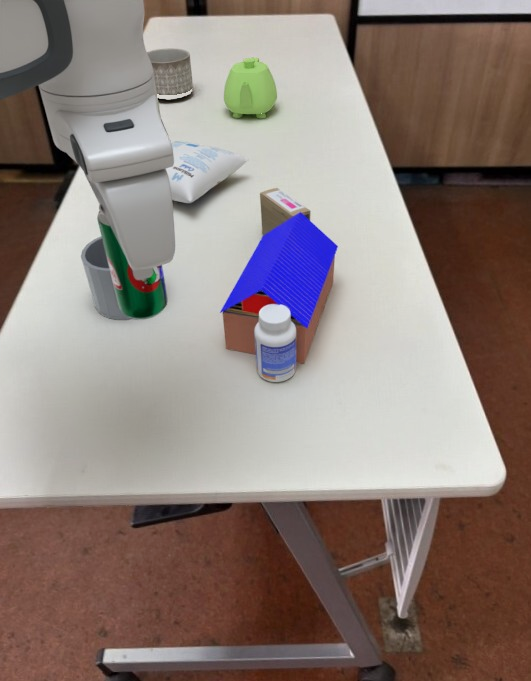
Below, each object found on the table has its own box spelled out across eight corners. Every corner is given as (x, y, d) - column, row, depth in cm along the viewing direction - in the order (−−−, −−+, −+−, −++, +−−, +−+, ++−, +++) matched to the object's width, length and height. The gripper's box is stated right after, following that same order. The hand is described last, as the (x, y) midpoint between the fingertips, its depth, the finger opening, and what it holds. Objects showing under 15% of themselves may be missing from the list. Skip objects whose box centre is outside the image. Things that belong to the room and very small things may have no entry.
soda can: (122, 293, 62) (98, 191, 54) (169, 290, 62) (153, 188, 54) (117, 324, 58) (90, 219, 50) (167, 320, 58) (148, 215, 50)
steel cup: (103, 327, 85) (89, 277, 79) (88, 290, 92) (74, 242, 86) (169, 308, 88) (160, 259, 82) (150, 273, 95) (141, 226, 89)
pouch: (173, 125, 122) (108, 157, 109) (249, 145, 114) (189, 182, 101) (176, 160, 127) (114, 195, 114) (249, 182, 120) (192, 222, 107)
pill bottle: (304, 372, 77) (306, 315, 70) (271, 389, 74) (270, 332, 68) (280, 350, 80) (279, 294, 74) (248, 366, 78) (245, 310, 71)
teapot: (271, 127, 139) (271, 73, 131) (217, 126, 141) (213, 72, 132) (281, 98, 154) (281, 48, 145) (232, 97, 155) (229, 47, 147)
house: (223, 349, 80) (216, 282, 73) (264, 270, 95) (262, 207, 87) (306, 365, 78) (308, 297, 70) (335, 281, 92) (340, 217, 84)
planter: (198, 88, 161) (194, 48, 154) (187, 104, 152) (183, 63, 145) (154, 87, 163) (149, 48, 156) (141, 103, 153) (135, 62, 147)
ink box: (310, 254, 98) (312, 210, 92) (292, 261, 96) (292, 217, 91) (278, 228, 104) (277, 185, 99) (260, 234, 103) (259, 191, 97)
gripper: (45, 83, 53) (80, 216, 62) (91, 172, 39) (128, 327, 48) (113, 73, 55) (137, 204, 64) (180, 154, 41) (199, 306, 50)
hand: (133, 258), depth 56 cm, fingers closed on soda can, 5 cm apart
